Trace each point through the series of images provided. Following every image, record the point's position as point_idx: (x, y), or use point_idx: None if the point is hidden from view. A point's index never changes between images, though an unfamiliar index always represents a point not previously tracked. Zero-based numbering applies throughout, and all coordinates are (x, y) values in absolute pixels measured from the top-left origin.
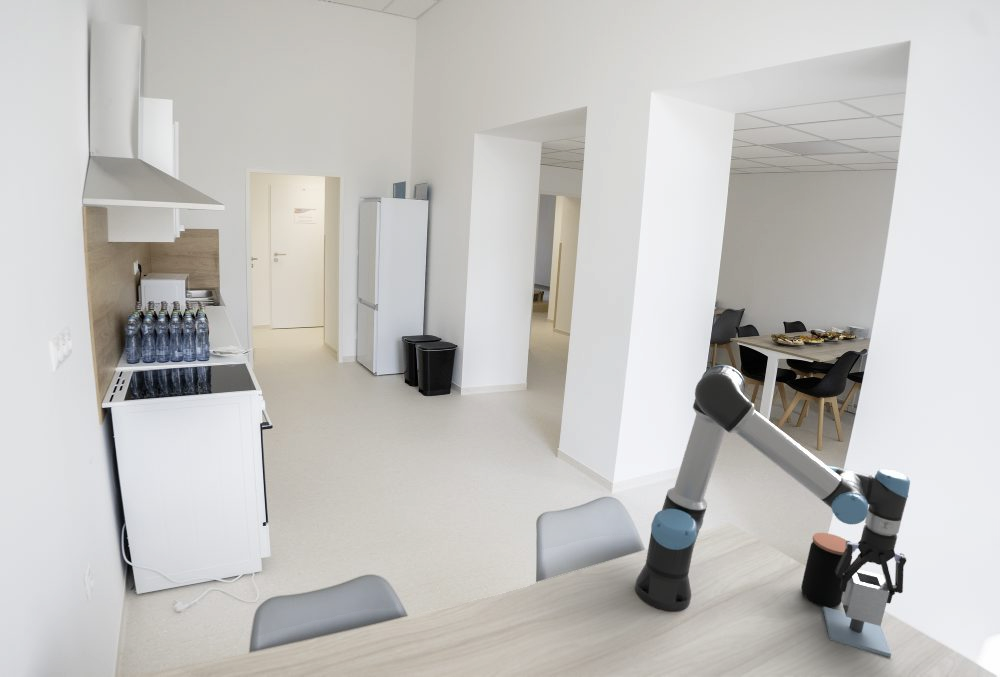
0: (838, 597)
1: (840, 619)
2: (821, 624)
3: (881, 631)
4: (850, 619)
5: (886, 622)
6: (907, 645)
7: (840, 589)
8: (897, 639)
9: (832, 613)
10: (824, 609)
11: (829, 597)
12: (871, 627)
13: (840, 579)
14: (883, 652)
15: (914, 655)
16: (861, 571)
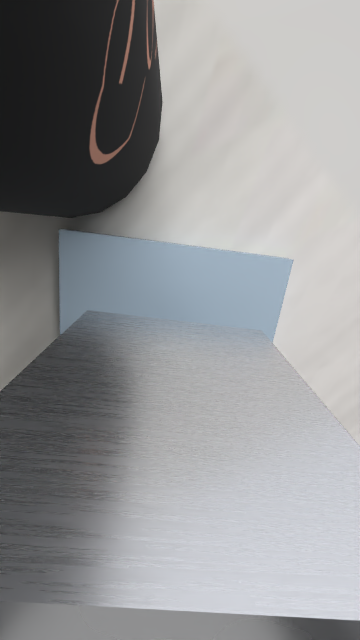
0: (113, 192)
1: (118, 309)
2: (47, 344)
3: (269, 330)
4: (163, 292)
5: (335, 220)
6: (340, 352)
7: (98, 186)
8: (320, 329)
9: (91, 276)
10: (59, 257)
11: (59, 214)
12: (237, 317)
13: (41, 185)
14: None
15: (334, 397)
16: (77, 634)
